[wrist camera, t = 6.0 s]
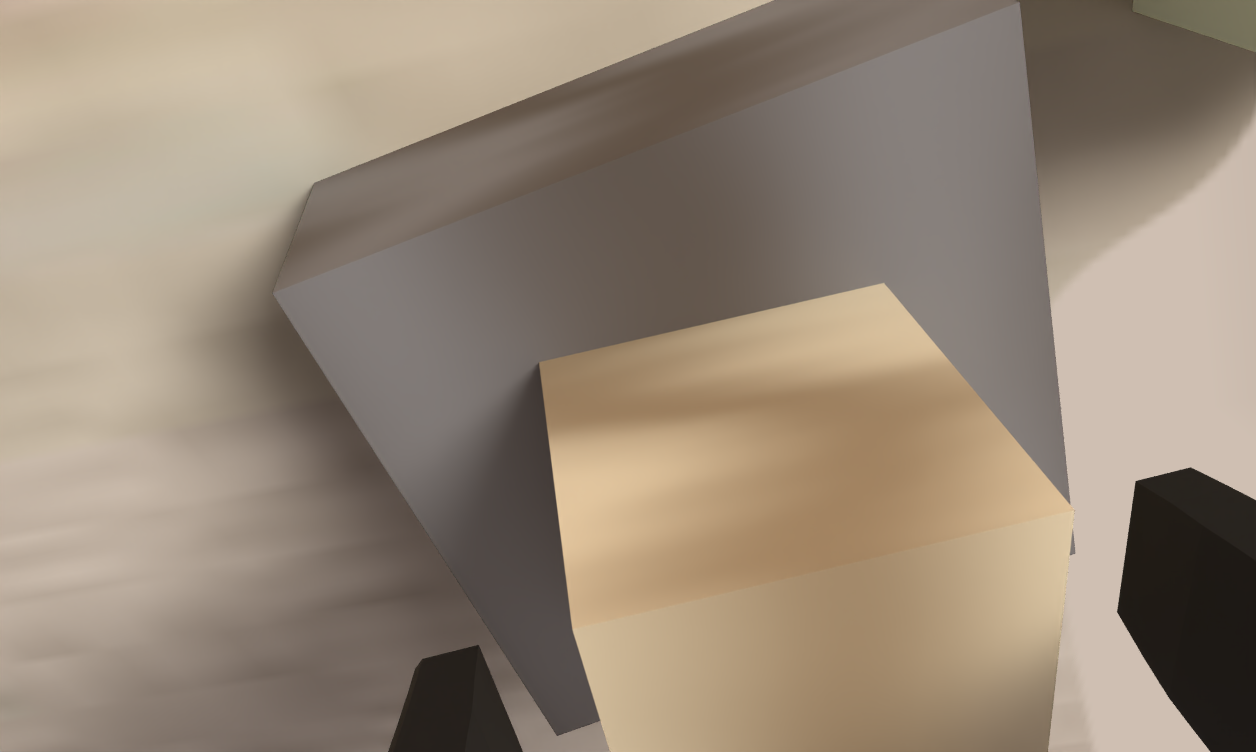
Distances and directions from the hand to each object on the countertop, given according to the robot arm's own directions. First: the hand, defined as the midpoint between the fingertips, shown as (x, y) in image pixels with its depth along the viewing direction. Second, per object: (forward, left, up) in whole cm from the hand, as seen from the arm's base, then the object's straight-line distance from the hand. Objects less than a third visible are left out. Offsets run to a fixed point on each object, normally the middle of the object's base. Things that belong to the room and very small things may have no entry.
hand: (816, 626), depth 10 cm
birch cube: (0, 0, -3) cm, 3 cm away
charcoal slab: (0, 0, -7) cm, 7 cm away
